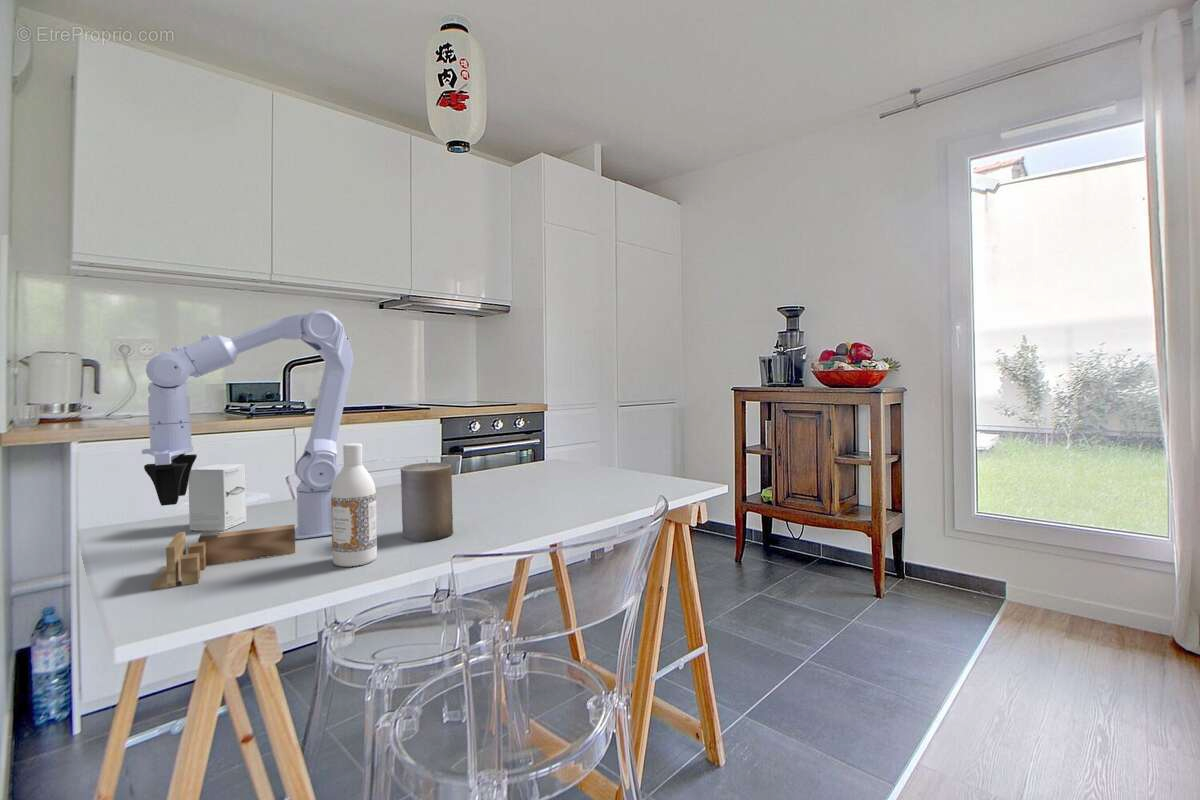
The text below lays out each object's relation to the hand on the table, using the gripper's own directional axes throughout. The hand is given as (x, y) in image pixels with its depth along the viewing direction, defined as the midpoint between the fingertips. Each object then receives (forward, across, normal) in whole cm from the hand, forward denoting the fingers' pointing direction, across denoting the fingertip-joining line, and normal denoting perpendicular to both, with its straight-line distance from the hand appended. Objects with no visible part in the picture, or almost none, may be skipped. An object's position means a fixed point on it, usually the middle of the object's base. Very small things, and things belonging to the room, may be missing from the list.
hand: (173, 500), depth 98 cm
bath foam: (+10, +18, +28) cm, 35 cm away
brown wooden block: (+10, +8, +12) cm, 17 cm away
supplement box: (+10, -18, +4) cm, 21 cm away
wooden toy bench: (+10, +14, +3) cm, 17 cm away
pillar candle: (+10, +8, +42) cm, 44 cm away
